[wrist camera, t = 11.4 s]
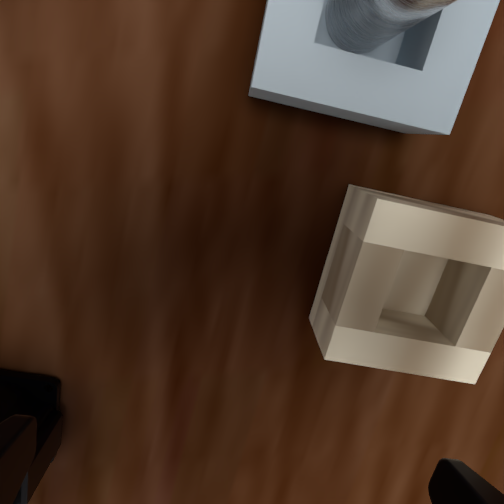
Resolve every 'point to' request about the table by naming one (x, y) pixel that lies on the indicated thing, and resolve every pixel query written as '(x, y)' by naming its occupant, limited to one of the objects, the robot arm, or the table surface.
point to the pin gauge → (375, 20)
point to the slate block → (372, 66)
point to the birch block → (411, 287)
